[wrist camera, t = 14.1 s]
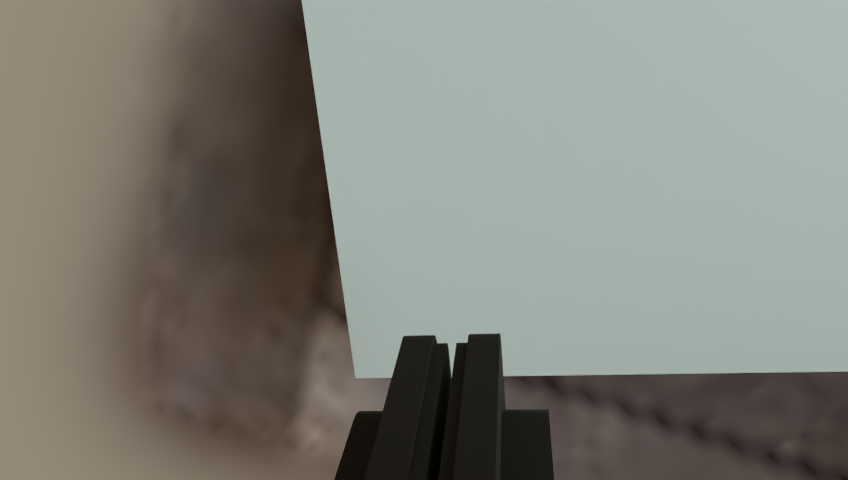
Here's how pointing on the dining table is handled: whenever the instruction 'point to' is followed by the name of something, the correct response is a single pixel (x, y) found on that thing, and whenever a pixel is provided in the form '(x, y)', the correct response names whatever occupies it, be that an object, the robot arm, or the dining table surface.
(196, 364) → the dining table surface
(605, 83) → the lid
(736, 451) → the dining table surface
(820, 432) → the dining table surface
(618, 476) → the dining table surface
